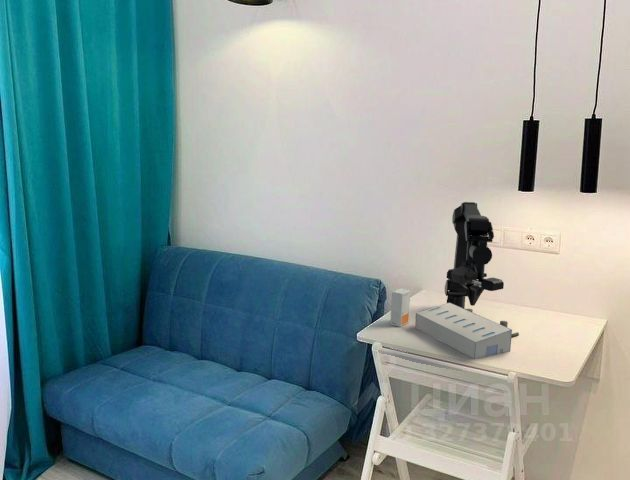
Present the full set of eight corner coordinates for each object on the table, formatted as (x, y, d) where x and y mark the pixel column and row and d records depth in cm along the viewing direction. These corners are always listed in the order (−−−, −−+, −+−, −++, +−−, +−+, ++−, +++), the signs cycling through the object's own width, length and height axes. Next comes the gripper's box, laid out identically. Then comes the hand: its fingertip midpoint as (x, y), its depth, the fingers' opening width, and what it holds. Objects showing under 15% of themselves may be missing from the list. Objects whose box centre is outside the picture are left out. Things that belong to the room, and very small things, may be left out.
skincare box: (400, 327, 207) (402, 294, 204) (389, 324, 209) (391, 291, 207) (409, 322, 211) (410, 290, 209) (398, 320, 214) (400, 287, 211)
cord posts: (463, 315, 220) (464, 302, 219) (519, 335, 200) (520, 321, 199) (449, 318, 216) (450, 305, 215) (504, 339, 196) (506, 325, 195)
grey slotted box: (415, 328, 207) (416, 307, 205) (448, 322, 213) (449, 302, 211) (474, 360, 180) (476, 336, 179) (510, 352, 187) (512, 329, 185)
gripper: (435, 254, 191) (433, 301, 194) (481, 266, 175) (478, 317, 178) (460, 250, 197) (457, 296, 200) (506, 262, 181) (502, 311, 185)
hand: (472, 305), depth 190 cm, fingers closed
